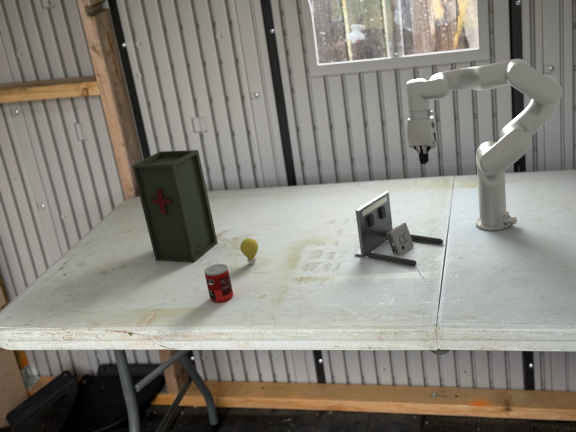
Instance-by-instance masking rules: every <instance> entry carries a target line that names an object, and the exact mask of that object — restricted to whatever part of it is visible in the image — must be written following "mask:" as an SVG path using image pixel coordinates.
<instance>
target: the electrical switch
mask: <svg viewBox="0 0 576 432" xmlns="http://www.w3.org/2000/svg"><path fill="white" fill-rule="evenodd" d="M410 234H411V233H410V230H409V227H408V225H407V223H406V222H402V223H401V224H399V225H397V226H396V227H394V228H393V229H392V230H391V231H389V232H388V233H387V234H386V236H387V239H388V240H387V242H388V245H389V246H390V249H391V251H392V254H397V255H398V256H402V255H403V254H405V253H406V252H408V250H409V251H410V249H412V248H413V247H414V246H415V244H414V240H412V238H411V235H410Z"/></svg>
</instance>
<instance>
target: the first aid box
mask: <svg viewBox="0 0 576 432" xmlns="http://www.w3.org/2000/svg"><path fill="white" fill-rule="evenodd" d="M131 166H132V171H133V174H134V178H135V182H136V188H137V190H138V193H139V198H140V203H141V206H142V211H143V214H144V218H145V222H146V226H147V231H148V235H149V240H150V243H151V247H152V251H153V255H154V260H155V261H157V262H173V263H174V262H175V263H196V262H197V261H198V260H199V259H200V258H201V257H203V256H205V254H206V253H208V252H209V251H210V250H211V249H213V248H214V247H215V246H216V245H217V244H218V239H217V233H216V228H215V224H214V219H213V214H212V210H211V206H210V200H209V197H208V196H209V194H208V191H207V185H206V181H205V175H204V171H203V167H202V162H201V157H200V152H199V149H193V150H192V149H190V150H189V149H188V150H168V151H166V150H162V151H158V152H156V153H154V154H153V155H150V156H148V157H146V158H145V159H142V160H140V161H138V162H137V163H135V164H133V165H131Z"/></svg>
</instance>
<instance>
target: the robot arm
mask: <svg viewBox="0 0 576 432" xmlns="http://www.w3.org/2000/svg"><path fill="white" fill-rule="evenodd" d="M508 86H509V87H510V86H511V87H512V88H514V89H515V90H517V91H518V92H520V93H521V94H523V95H525V96H526V97H528V98H530V99H531V100H530V102H529V103H528V105H527V106H526V107H525V109H523V110H522V111H521V112H520V113H519V114H518V115H517V116H516V117H514V118H513V119H512V120H511V121H510V122H508V123H507V124H506V125H505V126H504V127H502V129H501V131H500V136H499V137H500V139H499V140H498V141H497V142H496V141H493V140H491V141H490V140H489V141H488V140H487V141H484V142H482V143H481V144H480V145H479V146H478V147H477V149H476V152H475V164H476V173H477V190H478V191H477V192H478V206H479V207H478V208H479V209H478V210H479V218H478V219H477V220H476V221H475V226H476V227H477V228H478V229H480V230H484V231H501V230H505V229H507V228H509V227H510V226H511V225H517V223H518V219H517V217H516V216H514V215H513V216H511V215H510V211H507V196H506V170H508V169H509V168H510V167H511V166H513V165H514V164H515V163H516V162H518V161H519V160H520V159H521V158H522V157H524V155H525V154H526V153H528V151H529V150H530V148H531V147H532V144H533V138H532V137H533V135H535V134H536V133H537V132H538V131H539V130H540V129H541V128H542V127H543V126H544V125H546V123H547V122H548V121H549V120H550V118H552V116H553V114H554V112H555V109H556V106H557V104H558V102H559V101H560V100H561V98H562V96H563V89H562V86H561V84H560V83H559V82H558V81H557V80H556V79H555V78H554V77H552V76H550V75H547V74H544V73H542V72H540V71H539V70H537V69H535V68H534V67H533V66H531V65H530V64H529V63H528V62H526V60H524V59H522V58H513V59H508V60H503V61H498V62H494V63H493V62H492V63H489V64H488V63H487V64H483V65H478V66H471V67H463V68H457V69H456V68H455V69H452V70H446V71H442V72H438V73H435V74H433V75H432V76H431V77H430V78H429V80H426V79H425V78H415V79H410V80H408V81H407V82H406V85H405V88H406V99H407V106H408V107H407V109H408V118H407V127H406V130H407V131H406V132H407V133H406V135H407V137H406V139H407V142H408V147H409V148H410V149H414V150H415V151H416V154H418V159H419V162H420V165H426V164H428V162H429V160H430V157H429V152H430V150H433V149H436V148H438V145H437V142H438V138H439V137H438V132H437V126H436V125H437V124H436V121H435V118H434V116H433V115H434V113H435V112H434V110H432V109H431V105H430V100H438V101H439V100H443V99H445V98H448V96H450V93H451V92H453V91H460V90H472V91H473V90H474V91H476V92H477V91H478V92H480V91H481V92H482V91H487V90H493V89H499V88H503V87H508Z"/></svg>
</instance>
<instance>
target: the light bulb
mask: <svg viewBox="0 0 576 432" xmlns="http://www.w3.org/2000/svg"><path fill="white" fill-rule="evenodd" d="M239 247H240V252H241V253H242V254H243V255H244V256H245V257H246V258H247V261H246V262H247V263H249V266H254V265H255V264H256V261H257V257H256V255H257V253H258V249H259V244H258V242H257V240H255V239H254V238H251V237H250V238H245V239H243V241H242V242H241V243H240V245H239Z"/></svg>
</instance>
